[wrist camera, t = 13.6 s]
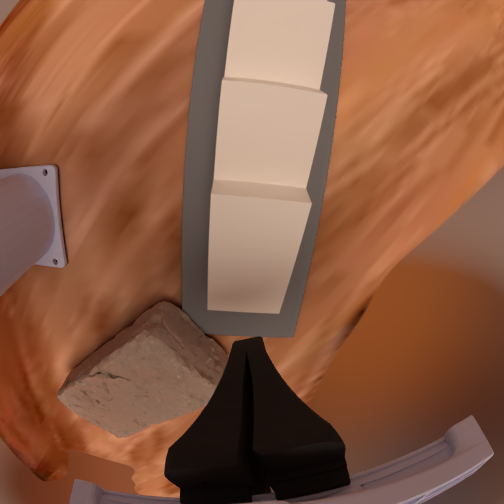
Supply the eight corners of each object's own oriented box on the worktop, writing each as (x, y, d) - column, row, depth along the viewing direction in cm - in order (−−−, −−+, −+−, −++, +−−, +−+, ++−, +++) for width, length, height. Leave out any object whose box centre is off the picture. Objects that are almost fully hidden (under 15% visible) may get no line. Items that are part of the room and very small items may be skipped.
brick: (163, 292, 20) (147, 334, 16) (235, 356, 23) (235, 400, 19) (69, 367, 24) (53, 399, 20) (126, 409, 27) (118, 441, 23)
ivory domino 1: (218, 141, 15) (236, -14, 9) (220, 133, 16) (236, -8, 10) (306, 151, 15) (335, 3, 10) (301, 142, 17) (326, 6, 11)
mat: (183, 329, 22) (183, 331, 22) (213, -38, 11) (213, -40, 11) (292, 335, 23) (293, 337, 23) (345, -17, 12) (346, -19, 12)
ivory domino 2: (210, 233, 17) (222, 80, 11) (213, 218, 18) (224, 76, 13) (292, 240, 18) (327, 94, 12) (289, 224, 19) (319, 89, 13)
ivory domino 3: (207, 309, 19) (210, 193, 14) (208, 292, 21) (213, 179, 15) (279, 313, 20) (311, 203, 14) (277, 296, 21) (305, 188, 15)
